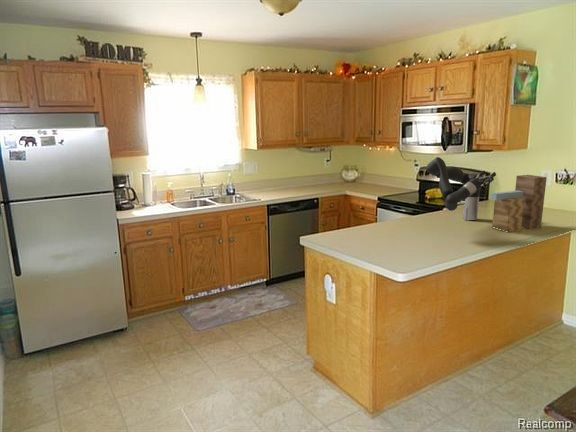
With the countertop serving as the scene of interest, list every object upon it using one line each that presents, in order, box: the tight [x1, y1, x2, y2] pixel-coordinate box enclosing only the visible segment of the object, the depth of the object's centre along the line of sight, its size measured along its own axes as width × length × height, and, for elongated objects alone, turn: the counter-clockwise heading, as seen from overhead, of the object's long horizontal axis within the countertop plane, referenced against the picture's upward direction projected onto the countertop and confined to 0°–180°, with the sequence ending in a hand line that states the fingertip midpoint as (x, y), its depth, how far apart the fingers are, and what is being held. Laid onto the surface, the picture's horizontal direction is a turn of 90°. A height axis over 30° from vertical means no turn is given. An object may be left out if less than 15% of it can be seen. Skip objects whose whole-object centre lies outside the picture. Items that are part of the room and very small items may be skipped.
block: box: [491, 198, 524, 232], centre depth 275 cm, size 12×12×21 cm
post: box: [514, 174, 547, 230], centre depth 279 cm, size 10×14×34 cm
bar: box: [491, 190, 523, 201], centre depth 271 cm, size 22×4×4 cm, turn 109°
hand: (489, 172), depth 262 cm, fingers open, 8 cm apart
